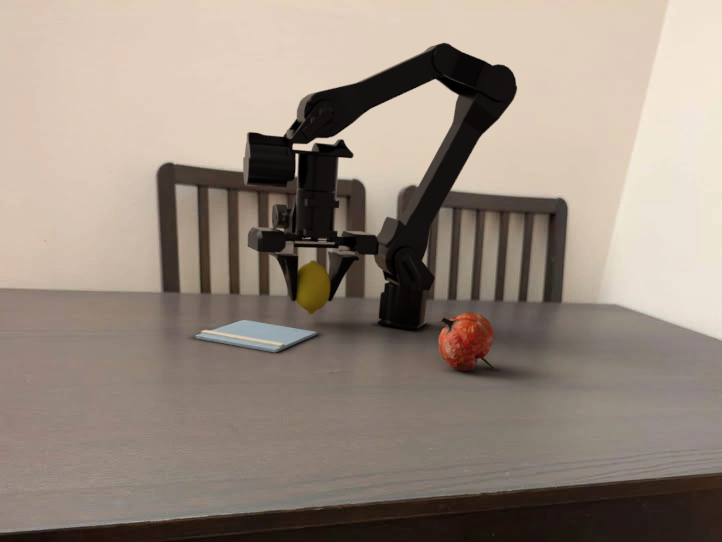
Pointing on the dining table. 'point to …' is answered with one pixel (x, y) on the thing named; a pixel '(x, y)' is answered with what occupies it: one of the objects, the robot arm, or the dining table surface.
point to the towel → (256, 335)
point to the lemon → (312, 287)
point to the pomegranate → (465, 340)
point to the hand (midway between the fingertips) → (311, 300)
